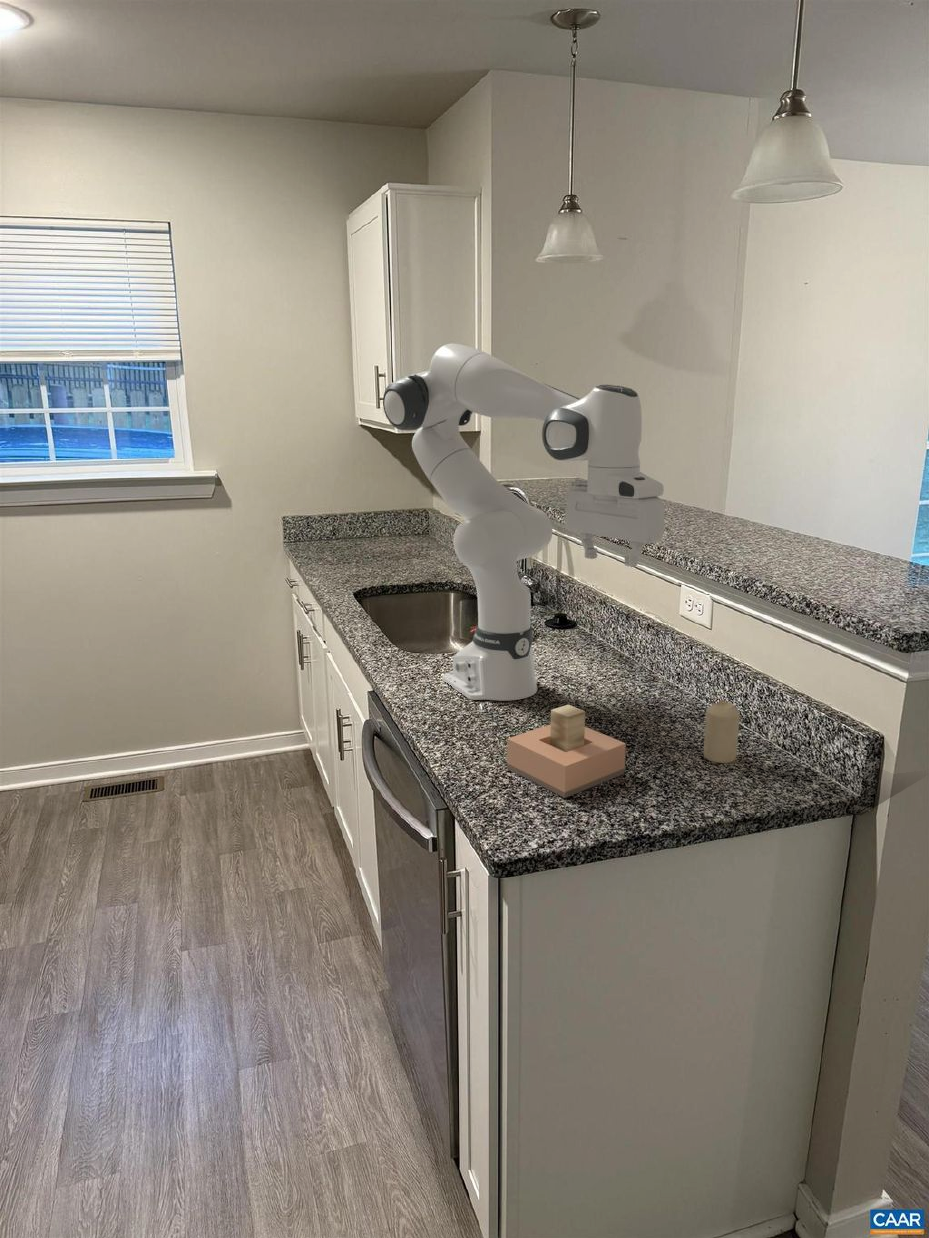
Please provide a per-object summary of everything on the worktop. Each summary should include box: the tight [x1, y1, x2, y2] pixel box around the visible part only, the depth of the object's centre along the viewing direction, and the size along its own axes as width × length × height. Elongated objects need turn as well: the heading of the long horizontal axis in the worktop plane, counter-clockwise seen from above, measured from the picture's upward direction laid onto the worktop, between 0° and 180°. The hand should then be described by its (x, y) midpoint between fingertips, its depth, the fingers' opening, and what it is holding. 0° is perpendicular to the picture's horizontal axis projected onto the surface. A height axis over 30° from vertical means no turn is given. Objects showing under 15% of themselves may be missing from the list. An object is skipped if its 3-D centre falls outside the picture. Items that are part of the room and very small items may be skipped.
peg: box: [550, 704, 586, 752], centre depth 141 cm, size 4×4×10 cm
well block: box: [506, 723, 627, 799], centre depth 142 cm, size 14×14×6 cm
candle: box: [703, 700, 741, 764], centre depth 146 cm, size 6×6×10 cm
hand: (610, 562), depth 148 cm, fingers open, 8 cm apart
